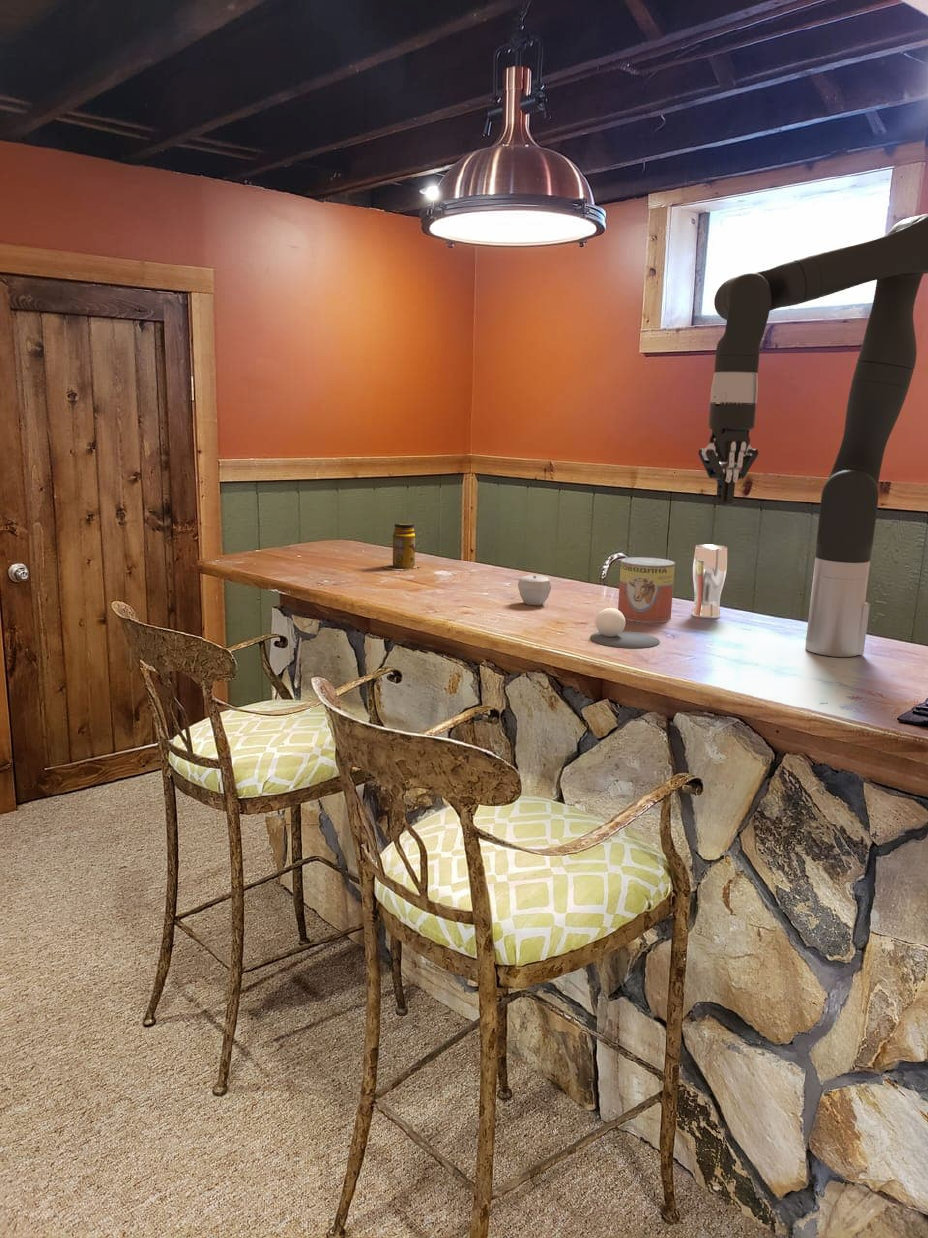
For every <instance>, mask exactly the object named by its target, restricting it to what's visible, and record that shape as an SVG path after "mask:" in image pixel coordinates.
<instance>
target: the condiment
mask: <svg viewBox="0 0 928 1238" xmlns="http://www.w3.org/2000/svg"><path fill="white" fill-rule="evenodd" d="M393 530H394V532H393V533H392V564H390V565H389V564H388V565H381V566H380V567H382V568H385V569H387V570H393V571H403V570H412V569H411V568H414V567H415V564H416V563H415V562H416V534H415V525H414V523H412V522H395V523H394V529H393Z"/></svg>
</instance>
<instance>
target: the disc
mask: <svg viewBox="0 0 928 1238" xmlns="http://www.w3.org/2000/svg"><path fill="white" fill-rule="evenodd" d="M589 637H590V640H591V641H592V642H594V643H596V644H598V645H602V646H606V647H607V646H608V647H610V648H611V647H612V648H620V649H647V648H653V647H657V646H658V645H660V643H661V642H660V639H659V638H658V637H656V636H654V635H651V634H647V633H643V632H635V631H629V630H627V631H626V630H623V631H622V632H621V633H620V634H619V635H617V636H615V637H607V636H604V635H602V634H601V633H600V632H599V631H598V632H595V633H592V634H591V635H590V636H589Z"/></svg>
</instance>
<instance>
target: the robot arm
mask: <svg viewBox="0 0 928 1238" xmlns="http://www.w3.org/2000/svg"><path fill="white" fill-rule="evenodd" d="M924 274H925V275H926V274H928V213H925V214H921V215H916V216H911V217H908V218H904V219H902V220H900V221H899V222H897V223H896V224H894V226H892V227H891V228H890V229H889V231H888V233H887V235H884V236H881V237H878V238H876V239H871V240H868V241H864V242H861V243H860V242H859V243H855V244H851V245H847V246H846V245H845V246H842V247H838V248H834V249H833V248H832V249H828V250H825V251H820V252H816V253H812V254H808V255H806V256H802V257H799V258H796V259H792V260H789V261H786V262H783V263H781V264H779V265H776V266H775V267H772V268H769V269H766V270H765V269H764V270H760V271H757V272H746V273H743V274H740V275H737V276H735V277H733V278H730V279H727V280H725V282H723V284H721V285H720V287H719V288H718V289H717V291H716V293H715V295H714V299H713V300H714V302H713V303H714V304H713V305H714V309H715V311H716V313H717V315H719V316H720V318H722V319H723V320H725V321H726V324H725V329H724V333H723V336H722V337H721V338H720V339H719V340H718V342H717V344H716V350H715V360H714V371H713V372H714V373H713V376H712V377H713V378H712V383H711V390H710V403H709V413H708V425H707V426H708V428H709V429H710V430H711V435H710V437H709V441H708V442H709V444H707V446H706V447H705V448H699V450H698V455H699V458H700V460H701V463H702V465H703V468H704V469H705V472H706V474H707V477H708V478H709V479H713V480H715V482H716V483H717V484H716V486H717V487H716V496H715V499H716V503H717V504H718V505H723V506H726V505H727V506H729V505H730V506H731V505H732V504H733V501H734V498H735V491H736V490H735V488H736V483H737V482H738V480H740V479H742V480H743V479H744V478H745V477H746V476H747V474H748V472H749V470H750V469H751V467H752V465H753V464H754V462H755V460H756V459H757V457H758V456H759V450H758V449H757V448H753V447H752V446H751V445H750V443H751V437H750V431H753V430H754V428H755V426H756V425H755V424H756V415H757V412H756V411H757V402H758V393H759V392H758V391H759V381H758V375H759V374H758V373H759V365H760V364H759V363H760V362H759V361H760V350H761V343H762V339H763V337H764V334H765V330H766V327H767V324H768V319H769V315H770V311H774V310H777V309H779V308H780V309H781V308H786V307H791V306H792V307H793V306H796V305H800V304H804V303H807V302H810V301H814V300H817V299H820V298H823V297H827V296H829V295H832V294H835V293H839V292H841V291H845V290H848V289H851V288H854V287H856V286H860V285H863V284H866V283H869V282H873V281H876V284H875V291H874V295H873V296H874V297H873V300H872V306H871V309H870V312H869V313H870V314H869V316H868V321H867V325H866V328H865V332H864V336H863V340H862V344H861V348H860V351H859V354H858V358H857V362H856V364H855V369H854V371H853V375H852V380H851V383H850V388H849V393H848V399H847V406H846V413H845V421H844V430H843V436H842V441H841V443H840V444H841V445H840V447H839V450H838V454H837V455H836V458H835V462H834V464H833V467H832V470H831V472H830V474H829V476H828V479H827V481H826V482H825V484H824V486H823V487H822V492H821V497H820V506H819V515H818V525H817V534H816V546H815V555H814V556H815V557H814V558H815V559H814V565H813V576H812V584H811V591H810V592H811V594H810V602H809V612H808V621H807V630H806V637H805V649H806V650H807V651H808V652H810V653H814V654H818V655H822V656H826V657H827V656H829V657H835V658H836V657H837V658H849V657H855V656H864V653H865V646H866V636H867V629H868V622H869V613H870V603H869V602H866V597H867V590H868V589H867V588H868V582H869V573H870V567H871V566H870V565H871V557H872V551H873V545H874V536H875V530H876V529H875V528H876V523H877V522H876V520H877V514H878V507H879V497H880V495H879V493H880V492H879V484H880V483H879V482H880V477H881V476H880V475H881V470H882V465H883V460H884V455H885V450H886V446H887V443H888V440H889V439H890V435H891V433H893V429H894V427H895V424H896V423H897V421H898V418H899V417H900V414H901V411H902V408H903V407H904V403H905V401H906V398H907V394H908V392H909V388H910V384H911V381H912V379H913V378H912V377H913V374H914V371H915V367H916V363H917V357H918V354H917V338H916V332H915V331H916V330H915V323H914V309H915V303H916V298H917V296H918V295H917V294H918V291H919V289H920V284H921V281H922V280H923V276H924Z"/></svg>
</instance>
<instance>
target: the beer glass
mask: <svg viewBox="0 0 928 1238" xmlns="http://www.w3.org/2000/svg"><path fill="white" fill-rule="evenodd" d="M727 567H728V547H727V546H725V545H718V544H707V543H706V544H696V545H695V551H694V556H693V564H692V579H693V580H692V581H693V589H694V590H693V591H694V597H693V598H694V600H693V605H692V608H691V612H690V614H691V616H693V617H695V618H700V619H709V620H710V619H713V620H714V619H718V618H721V608H720V607H721V605H720V604H721V603H720V602H721V595H722V591H723V588H724V584H725V581H726V580H725V579H726V576H727V569H728V568H727Z"/></svg>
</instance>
